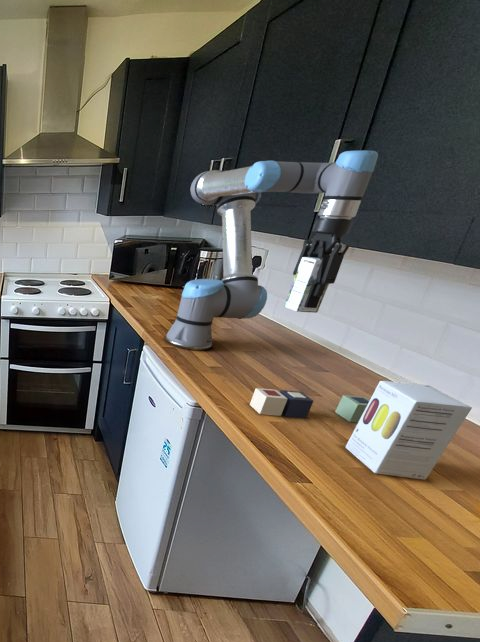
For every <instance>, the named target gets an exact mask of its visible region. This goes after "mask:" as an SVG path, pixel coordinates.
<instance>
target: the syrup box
mask: <svg viewBox="0 0 480 642" xmlns="http://www.w3.org/2000/svg"><path fill="white" fill-rule="evenodd" d="M321 262H322V261H321V260H320V259H319V258H314V257H302V259H301V262H300V264H299V267H298V270H297V273H296V275H294V278H293V281H292V284H291V286H290V289H289V292H288V295H287V298H286V300H285V302H284V305H283V307H284V308H286V309H288V310H291V311H294V312H298V313H314V314H317V313H318V312H319V311H320V310H319V309H320V307H321V305H322V302H323V300H324V297H325V295H326V292H327V290H328V288H329V286H330V284H327V285H326V286H325V289H324V291H323V294H322V296H321V297H320V300H319V302H318V305H317V307H316V308H306V307H304V305H305V303H306V300H307V297H308V295H309V292H310V290H311V287H312V284H313V282H316V279H317V273H318V270H319V267H320V265H321Z"/></svg>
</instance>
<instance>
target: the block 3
mask: <svg viewBox="0 0 480 642" xmlns="http://www.w3.org/2000/svg"><path fill="white" fill-rule="evenodd" d="M369 401H370V399H369V398H367V397H365V396H361V395H360V396H358V395H347V394H343V395H342V396H341V399H340V401H339V403H338V404H337V407H336V409H335V411H334V412H335V413H336V414H337V415H339V416H340V417H341V418H343V419H344V420H345V421H347V422H349V423H356V424H358V422H359V420H360V418H361V416H362V414H363V412H364V411H365V409H366V407H367V405H368V403H369Z"/></svg>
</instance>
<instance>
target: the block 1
mask: <svg viewBox="0 0 480 642" xmlns="http://www.w3.org/2000/svg"><path fill="white" fill-rule="evenodd" d="M286 402H287V398H286V397H285V396H284V395H282V394H281V393H280V391H278V390H277V389H272V388H271V389H270V388H259V387H255V390H254V392H253V394H252V397H251V400H250V403H249V406H250V407H251V408H252V409H253V410H255V412H257V413H258V414H259V415H265V416H275V417H282V415H283V414H282V412H283V409H284V407H285V404H286Z"/></svg>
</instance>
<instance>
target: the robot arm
mask: <svg viewBox="0 0 480 642" xmlns="http://www.w3.org/2000/svg"><path fill="white" fill-rule="evenodd" d="M378 158H379V153H378V151H375V150H369V149H368V150H365V149H363V150H346V151H343V152H341V153H340V154H339V155H338V157H337V159H336V161H333V162H332V161H331V162H308V161H307V162H305V161H277V160H260V161H259V160H258V161H256V162H254V164H252V165H250V166H245V167H240V168H234V169H230V170H220V169H213V170H207V171H206V170H205V171H204V172H201V173H199V174H198V175H197V176H195V177H194V179H193V181H192V182H191V185H190V196H191V198H192V199H193V200H194V201H195V202H197V203H199V204H201V205H205V206H216V212H217V213H216V214H217V215H219V216H221V224H222V225H221V227H222V228H221V229H222V230H221V231H222V268H223V269H222V274H223V277H222V279H214V278H197V279H191V280H189V281H187V282H186V283H185V285H184V287H183V290H182V293H181V296H180V297H181V298H180V302H179V305H178V309H177V314H176V318H175V320H174V322H173V324H172V325H171V327H170V328H169V329H168V332H167V333H166V336H165V338H164V339H165V341H166V342H167V343H168V344H169V345H172V346H174V347H177V348H180V349H185V350H190V351H208V350H210V349H211V348H212V345H213V336H212V335H213V334H212V325H213V321H214V318H225V319H238V320H242V319H252V318H255V317H256V316H258V315H259V314H260V313H261V312H262V311H263V310H264V308H265V306H266V303H267V300H268V291H267V289H266V288H265V287H264V286H262V285H259V278H258V276H256V275H254V274H253V252H252V250H253V248H252V247H253V246H252V219H251V217H252V215H251V211H252V210H253V209H254V208H255V207H256V204H257V203H259V201H260V199H261V197H262V193H294V194H295V193H297V194H304V195H306V194H308V195H313V194H324V196H323V199H322V202H321V204H320V208H319V211H318V213H317V216H319V217H317V218H316V219H315V221H314V223H313V227H312V229H311V232H312V233H315V235H314V236H313V237H312V238H311V239H304V240H303V243H302V249H301V252H300V254H299V256H298V259H297V262H296V264H295V267H294V268H293V269H294V270H293V272H292V275H293V276H295V275H296V273H297V270H298V267H299V264H300V262H301V259H302V257H314V258H319V259H320V260H321V261H322V262H321V265H320V267H319V270H318V273H317V279H316V282H313V284H312V287H311V290H310V292H309V295H308V297H307V300H306V303H305V305H304V307H306V308H316V307H317V305H318V302H319V300H320V297H321V296H322V294H323V291H324V289H325V286H326V285H327V284H329V285H330V284H335V283H336V280H337V276H338V274H339V271H340V269H341V266H342V263H343V260H344V257H345V255H346V253H347V252H348V250H349V248H350V245H349V244H343V241H342V239H343V236H346V235H348V234H349V232H350V230H351V228H352V226H353V222H354V221H353V219H352V218H354V217H356V216H357V213H358V210H359V207H360V205H361V202H362V200H363V197H364V194H365V193H366V190H367V187H368V185H369V182H370V180H371V177H372V175H373V172H374V171H375V167H376V164H377V161H378Z"/></svg>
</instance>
